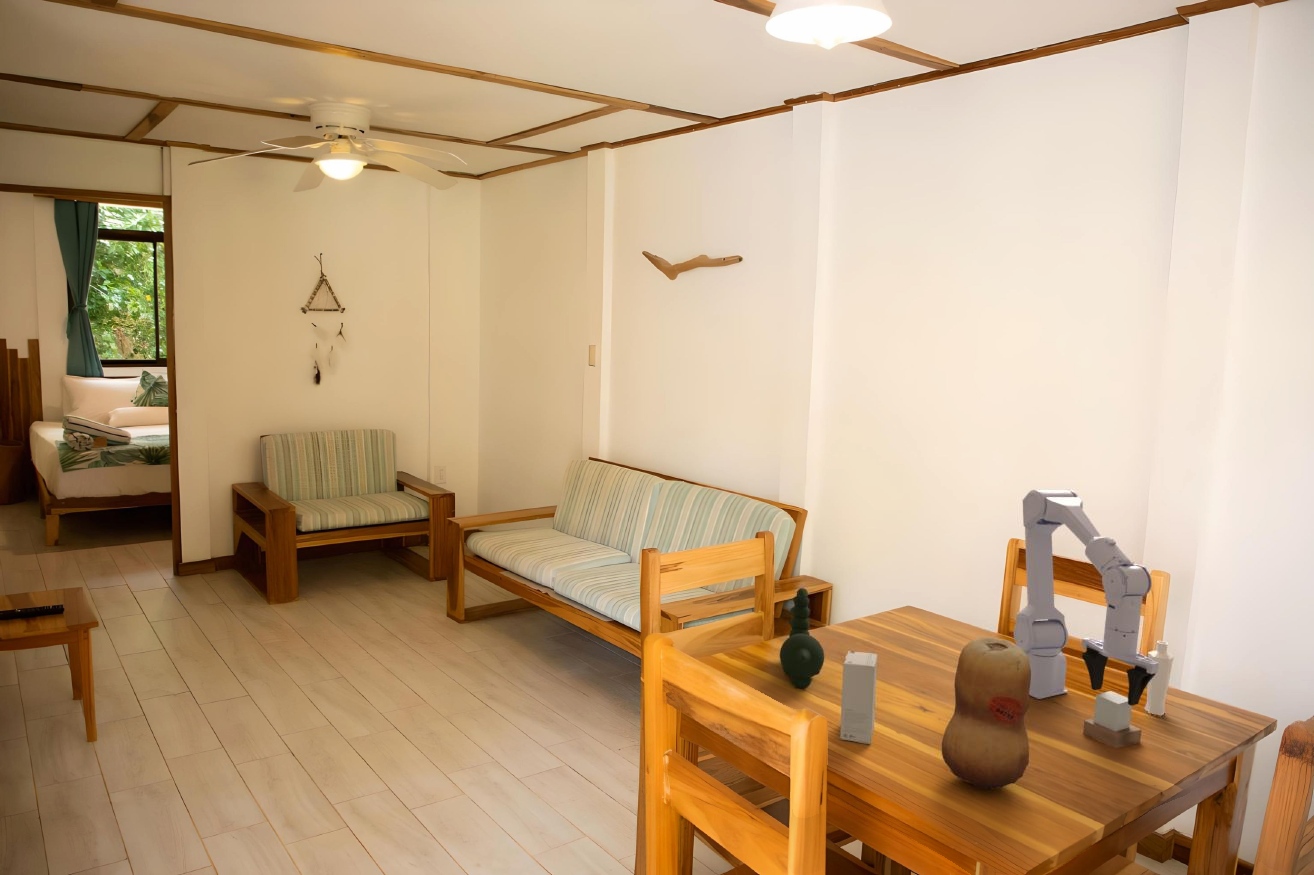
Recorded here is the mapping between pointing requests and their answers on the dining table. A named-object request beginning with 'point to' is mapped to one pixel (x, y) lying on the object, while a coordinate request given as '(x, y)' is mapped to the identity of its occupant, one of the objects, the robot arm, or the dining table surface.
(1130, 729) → the walnut slab
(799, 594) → the toy figurine
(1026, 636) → the robot arm
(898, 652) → the dining table surface
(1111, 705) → the grey block
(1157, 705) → the perfume bottle
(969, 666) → the butternut squash
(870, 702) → the skincare box
